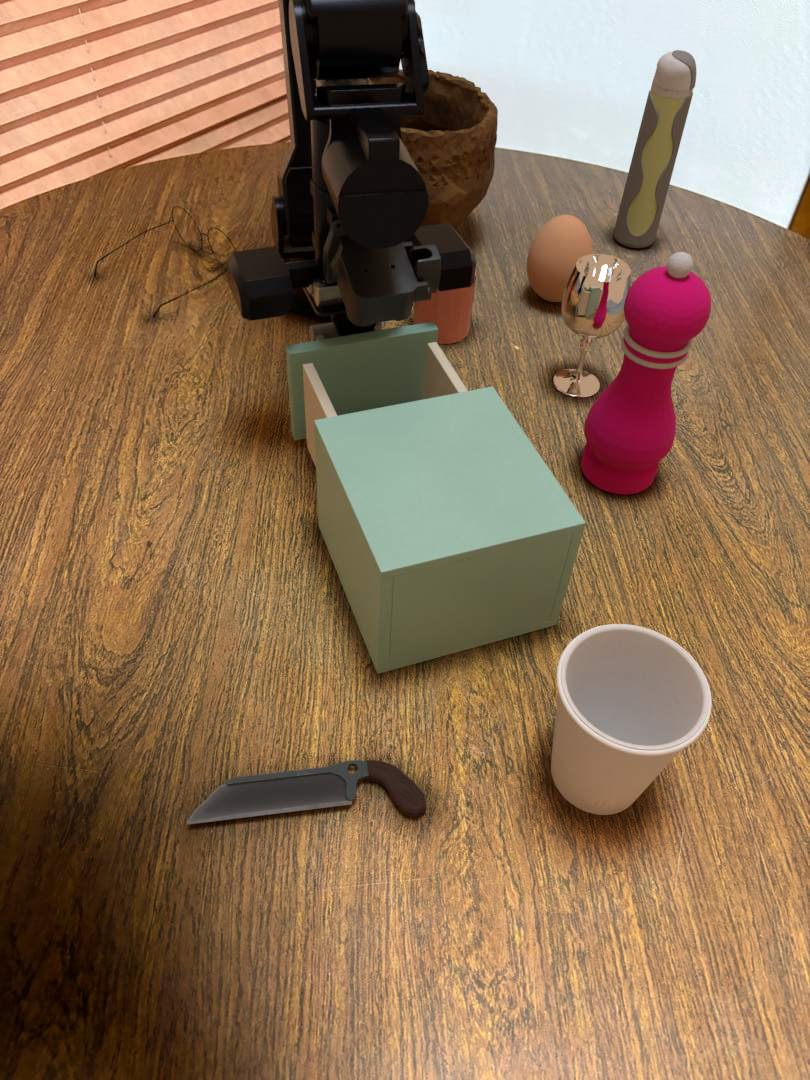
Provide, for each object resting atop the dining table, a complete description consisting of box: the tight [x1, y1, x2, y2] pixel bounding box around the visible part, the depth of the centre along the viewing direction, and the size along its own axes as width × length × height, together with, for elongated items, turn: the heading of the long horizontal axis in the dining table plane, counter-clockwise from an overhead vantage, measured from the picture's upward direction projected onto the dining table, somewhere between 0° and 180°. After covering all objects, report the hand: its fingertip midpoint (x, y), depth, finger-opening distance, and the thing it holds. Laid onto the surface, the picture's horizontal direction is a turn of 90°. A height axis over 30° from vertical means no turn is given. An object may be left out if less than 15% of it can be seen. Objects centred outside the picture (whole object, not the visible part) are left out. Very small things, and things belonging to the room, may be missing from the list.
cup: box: [412, 269, 477, 345], centre depth 84 cm, size 6×6×6 cm
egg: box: [526, 214, 594, 303], centre depth 88 cm, size 7×7×9 cm
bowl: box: [369, 69, 499, 242], centre depth 94 cm, size 19×19×15 cm
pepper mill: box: [580, 251, 712, 496], centre depth 66 cm, size 7×7×20 cm
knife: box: [186, 759, 427, 825], centre depth 51 cm, size 14×4×1 cm, turn 99°
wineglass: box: [552, 253, 632, 399], centre depth 77 cm, size 6×6×12 cm
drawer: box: [285, 321, 469, 468], centre depth 69 cm, size 18×12×9 cm
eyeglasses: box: [93, 205, 237, 319], centre depth 89 cm, size 11×13×5 cm
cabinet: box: [314, 386, 587, 675], centre depth 60 cm, size 15×14×11 cm
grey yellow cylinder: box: [613, 49, 697, 249], centre depth 93 cm, size 5×5×20 cm
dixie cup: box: [550, 623, 713, 816], centre depth 50 cm, size 8×8×10 cm
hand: (352, 360), depth 73 cm, fingers closed
